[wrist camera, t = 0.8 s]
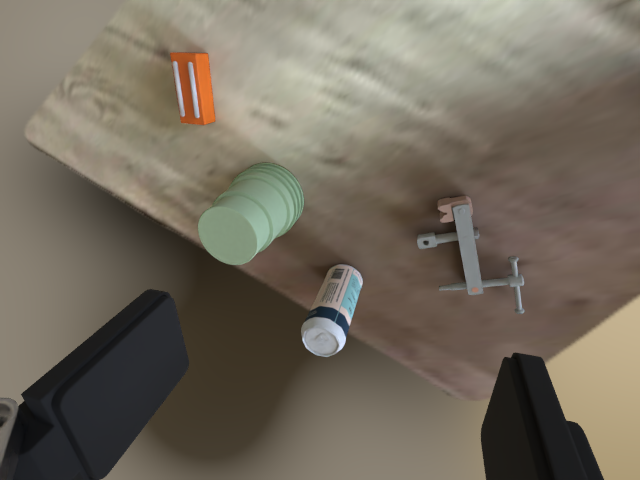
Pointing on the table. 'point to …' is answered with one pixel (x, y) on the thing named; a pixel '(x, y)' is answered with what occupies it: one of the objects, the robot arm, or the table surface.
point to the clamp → (468, 249)
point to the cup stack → (251, 213)
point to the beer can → (332, 311)
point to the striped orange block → (193, 87)
